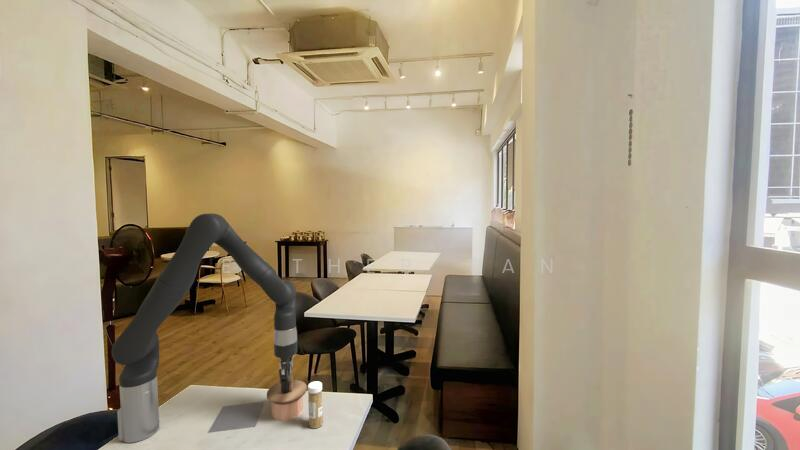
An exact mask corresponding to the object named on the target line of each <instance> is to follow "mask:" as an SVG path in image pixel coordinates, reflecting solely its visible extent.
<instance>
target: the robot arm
mask: <svg viewBox="0 0 800 450" xmlns="http://www.w3.org/2000/svg"><path fill="white" fill-rule="evenodd" d="M213 244H215V245H217V246H218V247H220V248H222V249H223V250H224V251H225V252H226V253H227V254H228V255H229V256H230V257H231V258H232V259H233V260H234V262H235V264H236V265H237V266H238V267H239V269H240V270H241V271H242V272H243V273H244V274H245V275H246V276H247V277H249V278H250V279H251V280H252V281H253V282H254V283H256V285H258V286H259V287H260V288H261V289H262V291H263V292H264V293H265V294H266V295H267V297H268V298H269V299H270V300H271V301H273V303H274V304H275V310H274V316H273V327H274V328H273V354H274V356H275V357H276V358H279V359H280V361H279V362H278V364H279V365H278V367H279V370H278V374H279V383H281V384H282V392H283V393H289V391H290V390H289V381H290V379H289V375H290V374H293V372H292V371H293V366H294V365H293V361H294V357H293V356H295V355H296V354H297V352H298V330H297V315H296V300H297V290H296V286H295V284H294V283H293V282H291V281H290V280H287V279H286V280H283V279H282V278H281V277H280V276H279V275H278V274H277V271H276V270H275V269H274V267H273V266H271V265H270V264H269V263H268V262H267V261H266V260H265V259H264V258H263V257H261V256H260V255H259V254H258V253H257V252H256V251H254V250H253V249H252V248H251V247H250V246H249V245H248V244H247V242H245V241H244V240H243V239H242V238H241V237H240V235H239V234H238V233H237V232H236V231H235V230H234V229H233V227H232V226H231V225H230V223H229V222H228V220H226V219H225V218H224V217H223V216H222V215H220V214H217V213H213V212H212V213H202V214H199V215H197V216H195V218H194V219H192V221H191V222H190V224H189V226H188V228H187V230H186V232H185V234H184V236H183V239H181V243H180V244H179V246H178V247H177V249H176V251H175V252H174V254H173V255H172V256H171V258H170V259H169V261H168V262H167V264H166V265H165V267H164V268H163V270H162V271H161V273H160V274H159V275H158V276H157V279H156V280H155V282H154V283H153V284H152V287H151V288H150V290H149V292H148V294H147V295H146V297H145V298H144V300H143V301H142V302H141V305H140V307H139V308H138V311H137V312H136V314H135V316H134V317H133V318H132V319H131V321H130V322H129V323H128V325H126V328H125V329H124V330H122V332H121V334H120V335H119V336H118V337H117V338H116V339H115V341H114V342H113V344H112V347H111V357H112V359H113V361H114V362H115V363H117V364H118V365H120V366H124V367H123V369H122V371H121V373H120V375H119V379H118V383H119V399H120V400H119V401H120V408H119V409H117V411H116V413H117V415H116V417H117V431H118V442H124V443H127V444H133V443H137V442H140V441H143V440H146V439H148V438H149V437H151V436H153V435H155V434H156V433H157V432H158V431H159V429H160V412H159V410H160V409H159V408H160V407H159V405H160V404H159V389H158V388H159V387H158V369H159V365H160V338H159V334H158V333H157V331H158V329H159V328H160V326H161V325H162V324H163V323H164V321H165V320H166V319H167V318H168V317H169V316H170V315H172V313H173V312H174V311H175V310H176V308H177V307H178V306H179V305H180V304H181V302H183V300H184V299H185V296H186V295H187V294H188V292H189V291H190V290H191V287H192V285H193V284H194V282H195V279H196V276H197V273H198V270H199V267H200V264H201V262H202V260H203V258H204V256H205V255H206V254H207V252H208V251H209V250H210V248H211V247H212V245H213Z"/></svg>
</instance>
